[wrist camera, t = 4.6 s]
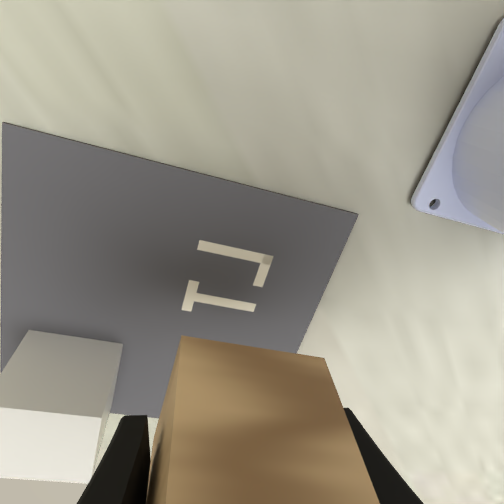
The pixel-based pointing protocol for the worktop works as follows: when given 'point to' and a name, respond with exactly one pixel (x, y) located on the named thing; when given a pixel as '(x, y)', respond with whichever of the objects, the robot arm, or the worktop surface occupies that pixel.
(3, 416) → the grey block
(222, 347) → the oak block
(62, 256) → the mat
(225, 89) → the worktop surface
